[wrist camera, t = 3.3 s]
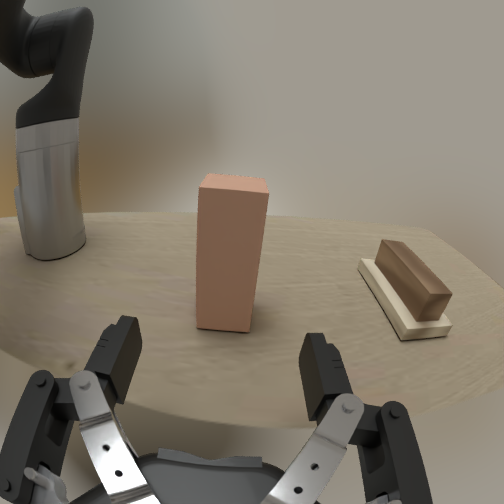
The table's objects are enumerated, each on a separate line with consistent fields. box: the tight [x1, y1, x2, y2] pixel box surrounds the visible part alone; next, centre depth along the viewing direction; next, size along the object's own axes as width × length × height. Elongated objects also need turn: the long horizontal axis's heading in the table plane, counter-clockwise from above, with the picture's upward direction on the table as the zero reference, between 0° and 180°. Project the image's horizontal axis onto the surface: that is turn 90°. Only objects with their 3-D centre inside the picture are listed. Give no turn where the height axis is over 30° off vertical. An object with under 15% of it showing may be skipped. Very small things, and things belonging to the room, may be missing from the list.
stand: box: [358, 239, 453, 340], centre depth 28 cm, size 7×14×5 cm, turn 1°
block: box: [196, 173, 269, 332], centre depth 22 cm, size 4×4×12 cm
